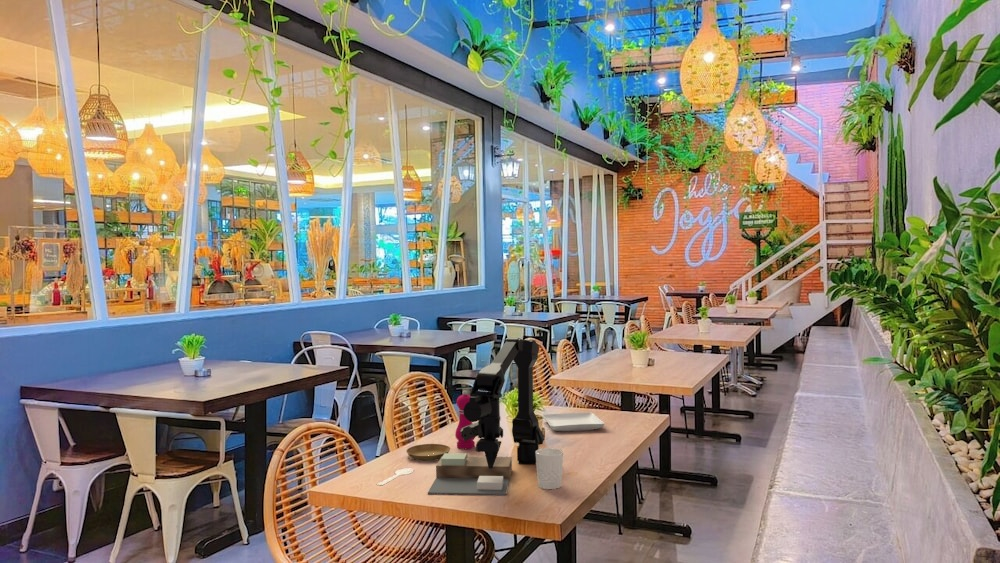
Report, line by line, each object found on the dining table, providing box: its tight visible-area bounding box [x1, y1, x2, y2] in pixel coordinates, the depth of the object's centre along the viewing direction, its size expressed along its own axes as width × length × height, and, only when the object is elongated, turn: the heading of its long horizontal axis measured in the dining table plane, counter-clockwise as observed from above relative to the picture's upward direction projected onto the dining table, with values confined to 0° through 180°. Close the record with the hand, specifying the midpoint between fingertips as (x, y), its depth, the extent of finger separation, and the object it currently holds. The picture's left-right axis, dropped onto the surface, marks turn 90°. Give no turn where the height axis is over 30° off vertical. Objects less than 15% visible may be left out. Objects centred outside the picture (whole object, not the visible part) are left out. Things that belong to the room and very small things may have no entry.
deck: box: [435, 456, 513, 481], centre depth 209 cm, size 22×10×4 cm, turn 85°
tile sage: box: [441, 452, 468, 466], centre depth 208 cm, size 7×6×2 cm
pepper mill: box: [454, 389, 476, 450], centre depth 240 cm, size 7×7×20 cm
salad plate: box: [541, 412, 605, 432], centre depth 269 cm, size 21×21×3 cm
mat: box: [427, 477, 510, 496], centre depth 197 cm, size 22×13×1 cm, turn 85°
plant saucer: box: [406, 443, 451, 462], centre depth 230 cm, size 15×15×3 cm
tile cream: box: [477, 476, 503, 490], centre depth 196 cm, size 7×6×2 cm
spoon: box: [376, 467, 415, 486], centre depth 208 cm, size 5×18×1 cm, turn 156°
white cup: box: [535, 447, 564, 490], centre depth 197 cm, size 8×8×10 cm
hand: (490, 468), depth 199 cm, fingers closed
